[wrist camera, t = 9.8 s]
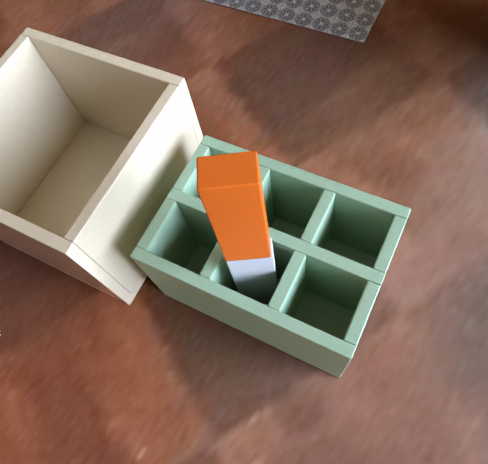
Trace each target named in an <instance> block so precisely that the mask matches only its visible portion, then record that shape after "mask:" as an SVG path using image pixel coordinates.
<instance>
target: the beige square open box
mask: <svg viewBox="0 0 488 464" xmlns="http://www.w3.org/2000/svg"><path fill="white" fill-rule="evenodd" d="M202 139H203V135H202V132H201V129H200V125H199V122H198V119H197V116H196V113H195V110H194V107H193V103H192V100H191V97H190V94H189V91H188V88H187V84H186V81H185V78H183V77H180V76H177V75H174V74H171V73H168V72H165V71H162V70H159V69H155V68H152V67H149V66H146V65H143V64H140V63H137V62H134V61H131V60H128V59H124V58H121V57H118V56H115V55H112V54H109V53H106V52H103V51H100V50H96V49H93V48H90V47H87V46H84V45H81V44H78V43H75V42H72V41H69V40H65V39H62V38H59V37H56V36H53V35H50V34H47V33H44V32H41V31H37V30H34V29H31V28H28V27H27V28H26V29H25V30H24V31H23V32H22V35H20V36H19V37H18V38H17V39H16V41H15V42H14V43H13V44H12V45H11V46H10V47H9V49H8V50H7V51H6V52H5V53H4V54H3V55H2V57H1V58H0V241H2V242H4V243H6V244H8V245H10V246H12V247H14V248H16V249H18V250H20V251H22V252H24V253H26V254H28V255H30V256H32V257H34V258H36V259H38V260H40V261H42V262H44V263H46V264H48V265H50V266H52V267H54V268H56V269H58V270H60V271H62V272H64V273H66V274H68V275H70V276H72V277H74V278H76V279H78V280H80V281H82V282H83V283H85V284H87V285H89V286H91V287H93V288H95V289H97V290H99V291H101V292H103V293H105V294H107V295H109V296H111V297H113V298H115V299H117V300H119V301H121V302H123V303H125V304H127V305H130V304H131V303H132V301H133V299H134V298H135V296H136V294H137V293H138V291H139V289H140V288H141V286H142V284H143V283H144V281H145V279H146V277H147V275H146V273H145V272H144V271H143V270H142V269H141V268H140V267H139V266H138V265H137V264H136V263H135V261H134V260H133V259H132V258H131V257H130V256H131V254H132V252H133V251H134V249H135V247H137V244H138V243H139V241H140V239H141V238H142V236H143V235H144V233H145V231H146V230H147V228H148V227H149V225H150V223H151V222H152V220H153V218H154V217H155V215H156V214H157V212H158V210H159V209H160V207H161V206H162V204H163V202H164V201H165V199H166V198H167V196H168V194H169V192H170V191H171V189H172V188H173V186H174V185H175V183H176V181H177V180H178V178H179V177H180V175H181V173H182V172H183V170H184V169H185V167H186V165H187V164H188V162H189V160H190V159H191V157H192V156H193V154H194V152H195V151H196V149H197V148H198V146H199V144H200V143H201V141H202Z"/></svg>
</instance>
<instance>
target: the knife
mask: <svg viewBox="0 0 488 464" xmlns="http://www.w3.org/2000/svg"><path fill="white" fill-rule="evenodd" d="M196 173H197V191H198V194H199V196H200V199H201V201H202V204H203V206H204V209H205V211H206V213H207V216H208V218H209V221H210V223H211V226H212V228H213V231H214V233H215V235H216V238H217V240H218V243H219V245H220V248H221V250H222V253H223V255H224V258H225V260H226V263H227V265H228V267H229V270H230V272H231V275H232V277H233V280H234V282H235V285H236V287H237V289H238V292H239V293H240V294H242V295H244V296H247V297H249V298H251V299H253V300H255V301H258V302H260V303H262V304H269V302H270V300H271V298H272V296H273V294H274V292H275V290H276V288H277V285H278V280H277V273H276V266H275V259H274V252H273V244H272V238H269V229H268V222H267V215H266V208H265V202H264V195H263V188H262V181H261V174H260V168H259V161H258V154H257V151H247V152H238V153H230V154H221V155H212V156H203V157H197V159H196Z"/></svg>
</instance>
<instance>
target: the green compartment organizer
mask: <svg viewBox="0 0 488 464" xmlns="http://www.w3.org/2000/svg"><path fill="white" fill-rule="evenodd" d="M247 151H248V150H245V149H243V148H240V147H237V146H234V145H231V144H229V143H226V142H223V141H220V140H217V139H215V138H212V137H209V136H206V135H205V136H204V138H203V139H202V141H201V143H200V144H199V146H198V148H197V149H196V151H195V152H194V154H193V156H192V157H191V159H190V160H189V162H188V164H187V165H186V167H185V169H184V170H183V172H182V173H181V175H180V177H179V178H178V180H177V181H176V183H175V185H174V186H173V188H172V189H171V191H170V192H169V194H168V196H167V198H166V199H165V201H164V202H163V204H162V206H161V207H160V209H159V210H158V212H157V214H156V215H155V217H154V218H153V220H152V222H151V223H150V225H149V227H148V228H147V230H146V231H145V233H144V235H143V236H142V238H141V239H140V241H139V243H138V244H137V247H135V249H134V251H133V252H132V254H131V256H130V257H131V258H132V259H133V260H134V261H135V263H136V264H137V265H138V266H139V267H140V268H141V269H142V270H143V271H144V272H145V273H146V275H147V276H148V277H149V278H150V279H151V280H152V281H153V282H154V283H155V284H156V285H157V287H158V288H159V289H160V290H161V291H162V292H163V293H164V294H165V295H167V296H169V297H171V298H173V299H175V300H177V301H179V302H181V303H184V304H186V305H188V306H190V307H192V308H194V309H196V310H198V311H200V312H202V313H204V314H206V315H209V316H211V317H213V318H215V319H217V320H219V321H221V322H223V323H225V324H227V325H229V326H231V327H233V328H236V329H238V330H240V331H242V332H244V333H246V334H248V335H250V336H252V337H254V338H256V339H258V340H261V341H263V342H265V343H267V344H269V345H271V346H273V347H275V348H277V349H279V350H281V351H283V352H285V353H288V354H290V355H292V356H294V357H296V358H298V359H300V360H302V361H304V362H306V363H308V364H310V365H313V366H315V367H317V368H319V369H321V370H323V371H325V372H327V373H329V374H331V375H333V376H335V377H338V378H340V377H341V375H342V374H343V372H344V370H345V369H346V367H347V366H348V364H349V362H350V361H351V359H352V357H353V354H354V352H355V349H356V346H357V344H358V342H359V339H360V337H361V334H362V332H363V329H364V327H365V324H366V322H367V319H368V317H369V314H370V312H371V309H372V307H373V304H374V302H375V299H376V297H377V294H378V292H379V289H380V286H381V284H382V282H383V279H384V277H385V274H386V272H387V269H388V267H389V264H390V262H391V259H392V257H393V254H394V252H395V249H396V247H397V244H398V242H399V239H400V237H401V234H402V232H403V229H404V227H405V224H406V222H407V219H408V217H409V214H410V212H411V209H410V208H408V207H405V206H402V205H399V204H397V203H394V202H391V201H388V200H385V199H383V198H380V197H377V196H374V195H371V194H369V193H366V192H363V191H360V190H357V189H355V188H352V187H349V186H346V185H343V184H341V183H338V182H335V181H332V180H329V179H327V178H324V177H321V176H318V175H315V174H313V173H310V172H307V171H304V170H301V169H299V168H296V167H293V166H290V165H287V164H285V163H282V162H279V161H276V160H273V159H271V158H268V157H265V156H262V155H259V154H258V161H259V168H260V174H261V181H262V188H263V195H264V202H265V208H266V215H267V222H268V229H269V238H272V244H273V252H274V259H275V266H276V273H277V280H278V285H277V288H276V290H275V292H274V294H273V296H272V298H271V300H270V302H269V304H262V303H260V302H258V301H255V300H253V299H251V298H249V297H247V296H244V295H242V294H240V293H239V292H238V289H237V287H236V285H235V282H234V280H233V277H232V275H231V272H230V270H229V267H228V265H227V263H226V260H225V258H224V255H223V253H222V250H221V248H220V245H219V243H218V240H217V238H216V235H215V233H214V231H213V228H212V226H211V223H210V221H209V218H208V216H207V213H206V211H205V209H204V206H203V204H202V201H201V199H200V196H199V194H198V191H197V173H196V159H197V157H203V156H212V155H221V154H230V153H238V152H247Z"/></svg>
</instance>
